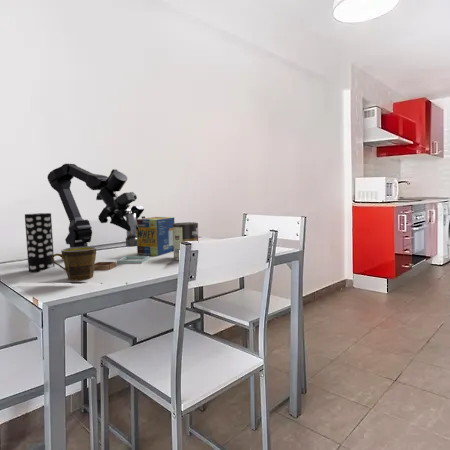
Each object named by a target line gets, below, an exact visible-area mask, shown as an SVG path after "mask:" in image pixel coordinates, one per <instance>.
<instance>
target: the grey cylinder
mask: <svg viewBox="0 0 450 450" xmlns="http://www.w3.org/2000/svg"><path fill="white" fill-rule="evenodd" d="M125 220H126V222H127V223H128V225H129V226H130V228H131V230H130V231H127V230H126V237H125V247H127V248H129V247H130V248H132V247H137V246H138V238H137V232H136V214H126V217H125Z"/></svg>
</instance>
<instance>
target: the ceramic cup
mask: <svg viewBox="0 0 450 450" xmlns="http://www.w3.org/2000/svg"><path fill="white" fill-rule="evenodd" d="M57 256H58V257H60V258H61V259H62V260H63V263H64V264H63V265H64V267H63V266H62V264H60V263H57V262H56V261H55V257H57ZM96 257H97V247H96V246H89V247H72V248H70V247H66V248H63V249H61V253H54V255H53V256H52V261H53V263H54V265H57V266H58V267H60V268H61V269H63V270H64V271H65V273H66V275H67V279H68V280H69V281H70V282H68V283H69V284H73V285H74V284H78V285H79V284H80V285H81V284H86V283H87V281H86V280H90V279H92V278H94V273H95V270H94V266H95V263H96ZM53 258H54V260H53Z"/></svg>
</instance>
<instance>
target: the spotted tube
mask: <svg viewBox="0 0 450 450" xmlns="http://www.w3.org/2000/svg"><path fill="white" fill-rule="evenodd" d="M24 224H25V225H24V226H25V237H26V252H27V265H28V272H29V273H40V272H42V271H45V270H48V269H51V268H54V267H55V263H53V261H52V256H53V255H54V254H55V253H54V241H53V240H54V239H53V237H54V236H53V225H52V224H53V223H52V213H50V212H46V213H45V212H44V213H43V212H42V213H41V212H40V213H26V214H24ZM53 260H54V261H55V257H54V258H53Z"/></svg>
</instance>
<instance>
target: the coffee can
mask: <svg viewBox="0 0 450 450" xmlns="http://www.w3.org/2000/svg"><path fill="white" fill-rule="evenodd" d="M172 226H173V247H174V251H173V259H174V260H176V261H180V260H179V250H180V243H181V242H185V241H198V242H199V223H198V222H189V221H188V222H174V224H172Z"/></svg>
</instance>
